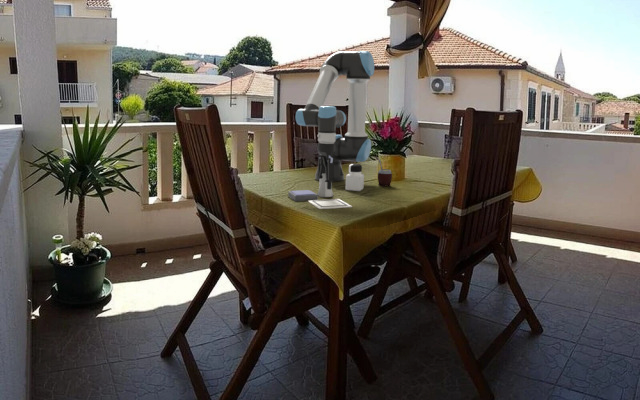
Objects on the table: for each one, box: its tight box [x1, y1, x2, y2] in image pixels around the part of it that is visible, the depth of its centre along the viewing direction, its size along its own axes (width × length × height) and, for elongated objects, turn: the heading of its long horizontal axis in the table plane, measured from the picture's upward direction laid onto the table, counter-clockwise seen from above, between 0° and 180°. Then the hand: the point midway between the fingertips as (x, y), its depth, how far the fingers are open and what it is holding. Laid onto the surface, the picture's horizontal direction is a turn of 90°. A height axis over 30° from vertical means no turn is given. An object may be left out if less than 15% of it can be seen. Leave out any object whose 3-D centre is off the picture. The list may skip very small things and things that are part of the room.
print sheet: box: [307, 198, 353, 210], centre depth 200 cm, size 14×14×1 cm
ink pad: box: [287, 189, 319, 202], centre depth 211 cm, size 10×10×2 cm
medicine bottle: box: [344, 163, 365, 192], centre depth 232 cm, size 7×7×12 cm
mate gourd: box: [375, 156, 393, 188], centre depth 242 cm, size 8×8×15 cm
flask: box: [316, 173, 334, 198], centre depth 215 cm, size 7×7×10 cm
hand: (325, 194), depth 216 cm, fingers closed on flask, 7 cm apart
